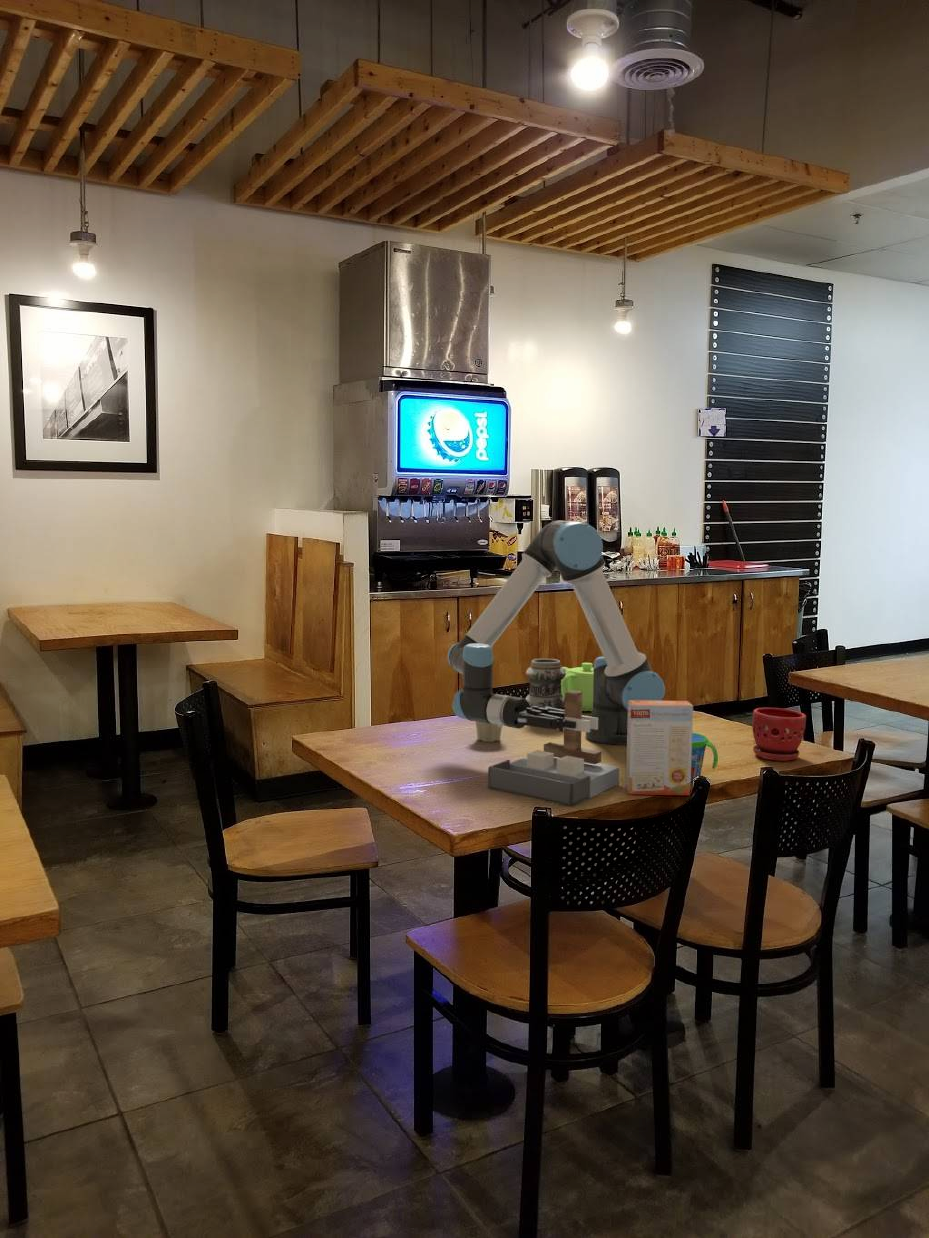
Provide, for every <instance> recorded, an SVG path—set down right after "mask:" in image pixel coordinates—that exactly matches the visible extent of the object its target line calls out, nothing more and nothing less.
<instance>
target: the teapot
mask: <svg viewBox="0 0 929 1238" xmlns="http://www.w3.org/2000/svg"><path fill="white" fill-rule="evenodd" d="M561 667H562V668H563V669H564V670H565V673H566V675H565V677H564V678H563V679H562V680H561V693H562V695H563V696H564V698H565V692H567V691H570V690H574V691H581V692H582V712H583V711H590V712H592V711H593V678H594V671H593V668H594V663H592V662H582V663H581V666H580V667H579V666H578V667H572V668H569V667H566V666H561ZM562 708H565V705H564V706H563V707H562Z"/></svg>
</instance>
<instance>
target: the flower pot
mask: <svg viewBox="0 0 929 1238" xmlns="http://www.w3.org/2000/svg"><path fill="white" fill-rule="evenodd" d="M475 728H476V736H477V740H478V741H482V742H485V743H494V741H495V742H496V741H497V742H498V741H500V740H501V736H502V728H503V726H502V725H501V727H498V725H497V724H490V723H484V722H477V721H475Z"/></svg>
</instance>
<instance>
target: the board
mask: <svg viewBox="0 0 929 1238" xmlns="http://www.w3.org/2000/svg"><path fill="white" fill-rule="evenodd" d="M557 759H560V758H558V757H554V766H552V767H549V768H547V769H544V770H542V769H537V768H532V767H527V756H525V757H523V758H520V759H518V760H515V761H512V762H510V771H514V772H519V773H524V774H529V775H534V776H539V777H543V778H548V779H553V780H558V781H563V782H568V783H573V782H575V781H577V780H579V779H582V778H584V777H586V776H590V798H592V797H594V796H597V795H599V794H601V793H603V792H605V791H607V790H609V789H610V788H613V787H616V786H617V785H619V784H620V766H614V765H609V764H605V763H601V762H600V763H597V764H590V763H585V762H584V772H581V773H579V774H577V775H575V776H572V775H567V774H562V773H557ZM590 798H589V799H590Z"/></svg>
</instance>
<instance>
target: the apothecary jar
mask: <svg viewBox="0 0 929 1238" xmlns="http://www.w3.org/2000/svg"><path fill="white" fill-rule="evenodd" d="M562 667H563V666H561V661H560V660H559V659H557V658H534V659H532V660H531V663H530V666H529V667H528V668H527V669H526V671H525V674H526V677H527V678H528V679H529V692H528V693H529V694H527V696H526V697H525V699H526V700H527V701H528V703H529V705H530V707H531V708H532V706H539V707H540V708H544V707H545V706H549V707H552V708H556V709H562V708H564V707H563V706H564V705H565V698H564V696H563V695H562V693H561V680H562V679H563V678H564V677H565V675H566V673H565V670H564V669H563V668H562Z"/></svg>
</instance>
